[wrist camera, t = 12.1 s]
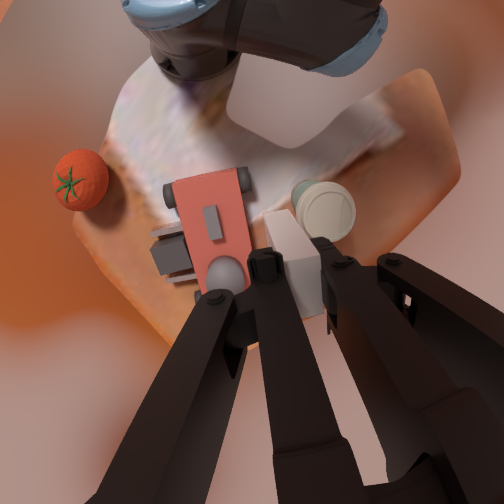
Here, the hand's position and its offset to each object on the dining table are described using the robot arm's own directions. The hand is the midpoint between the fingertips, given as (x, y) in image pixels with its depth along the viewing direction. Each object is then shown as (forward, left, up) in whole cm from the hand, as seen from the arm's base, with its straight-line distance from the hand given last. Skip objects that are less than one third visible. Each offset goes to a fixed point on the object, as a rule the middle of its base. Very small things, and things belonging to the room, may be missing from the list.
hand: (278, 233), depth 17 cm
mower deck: (+11, -7, -30) cm, 33 cm away
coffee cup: (+6, +9, -31) cm, 32 cm away
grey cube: (+11, -15, -31) cm, 36 cm away
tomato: (-6, -27, -31) cm, 41 cm away
